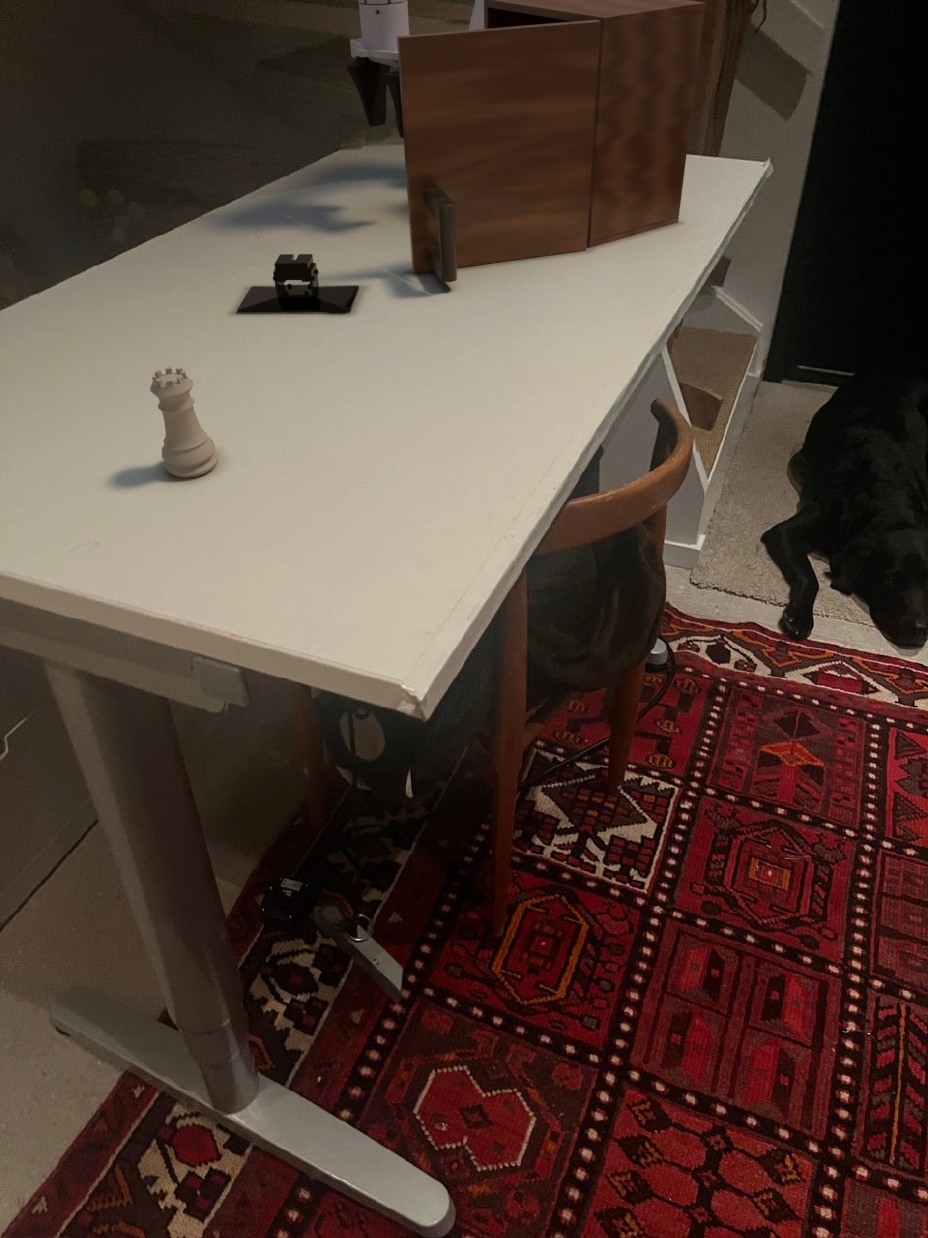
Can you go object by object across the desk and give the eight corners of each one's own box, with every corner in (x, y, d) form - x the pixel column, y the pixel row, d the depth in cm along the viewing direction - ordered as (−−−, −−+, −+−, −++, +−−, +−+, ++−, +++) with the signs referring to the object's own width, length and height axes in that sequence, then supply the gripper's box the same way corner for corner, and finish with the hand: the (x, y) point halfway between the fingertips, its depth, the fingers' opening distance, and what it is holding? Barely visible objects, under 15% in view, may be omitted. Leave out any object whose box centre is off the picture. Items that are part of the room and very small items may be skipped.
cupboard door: (610, 269, 103) (628, 30, 88) (429, 295, 99) (416, 48, 84) (583, 247, 109) (596, 19, 94) (412, 270, 105) (396, 35, 89)
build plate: (359, 289, 102) (355, 247, 98) (350, 315, 96) (345, 271, 93) (252, 288, 102) (244, 246, 99) (236, 314, 97) (228, 271, 94)
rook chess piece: (169, 452, 75) (144, 363, 70) (223, 449, 75) (202, 359, 70) (160, 481, 72) (133, 389, 66) (216, 477, 72) (194, 385, 66)
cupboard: (589, 248, 109) (604, 17, 94) (485, 206, 123) (483, -2, 107) (678, 222, 115) (705, 2, 100) (570, 185, 129) (579, -14, 113)
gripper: (323, -1, 108) (337, 125, 117) (385, 11, 98) (395, 146, 107) (374, -7, 111) (383, 116, 119) (438, 4, 101) (444, 137, 110)
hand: (392, 130), depth 114 cm, fingers open, 7 cm apart
